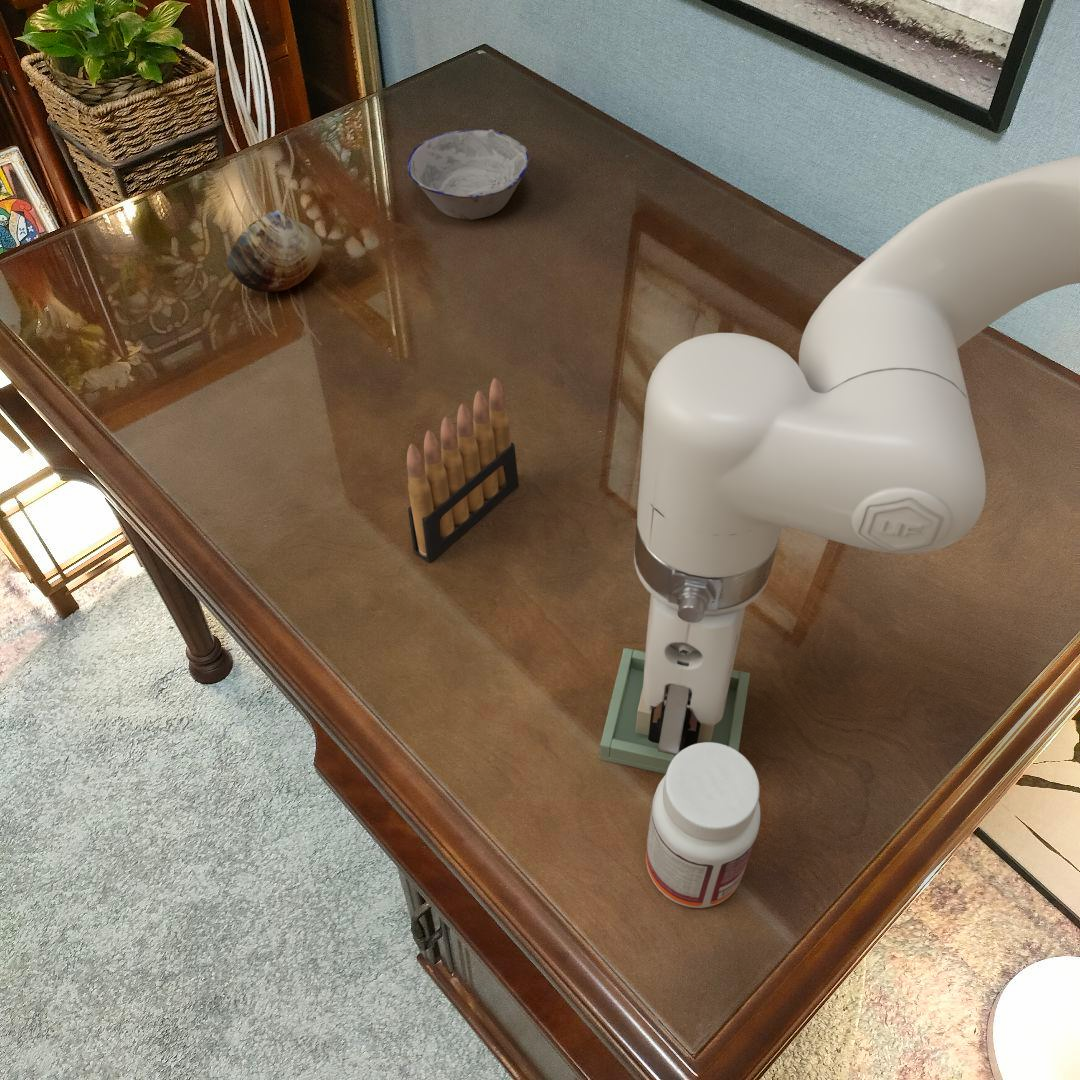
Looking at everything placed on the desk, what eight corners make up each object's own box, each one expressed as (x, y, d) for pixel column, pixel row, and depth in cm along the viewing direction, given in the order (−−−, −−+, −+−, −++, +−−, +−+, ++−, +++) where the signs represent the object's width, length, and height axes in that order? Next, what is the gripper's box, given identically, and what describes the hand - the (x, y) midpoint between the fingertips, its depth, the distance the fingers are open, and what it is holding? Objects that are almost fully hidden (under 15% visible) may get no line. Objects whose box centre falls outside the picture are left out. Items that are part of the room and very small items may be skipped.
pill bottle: (733, 813, 66) (758, 728, 58) (750, 908, 62) (780, 833, 54) (638, 819, 66) (649, 735, 57) (650, 914, 62) (664, 840, 54)
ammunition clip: (429, 564, 80) (411, 457, 70) (413, 552, 81) (392, 445, 71) (519, 485, 85) (513, 376, 76) (502, 474, 86) (494, 366, 76)
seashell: (312, 255, 106) (297, 185, 99) (338, 282, 103) (324, 212, 96) (228, 289, 102) (206, 219, 96) (252, 318, 99) (231, 248, 93)
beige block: (717, 697, 70) (722, 675, 68) (709, 748, 68) (713, 726, 66) (646, 683, 71) (648, 660, 69) (635, 733, 69) (637, 710, 67)
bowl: (421, 165, 116) (416, 125, 112) (534, 167, 115) (533, 127, 111) (403, 232, 108) (398, 191, 104) (524, 235, 107) (523, 194, 103)
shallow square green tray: (746, 688, 72) (750, 672, 71) (730, 789, 67) (735, 774, 66) (622, 662, 74) (623, 647, 72) (599, 759, 69) (599, 745, 67)
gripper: (755, 688, 49) (715, 839, 64) (790, 447, 60) (748, 624, 74) (604, 657, 51) (597, 812, 65) (663, 426, 61) (646, 604, 75)
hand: (678, 711), depth 69 cm, fingers closed on beige block, 3 cm apart
